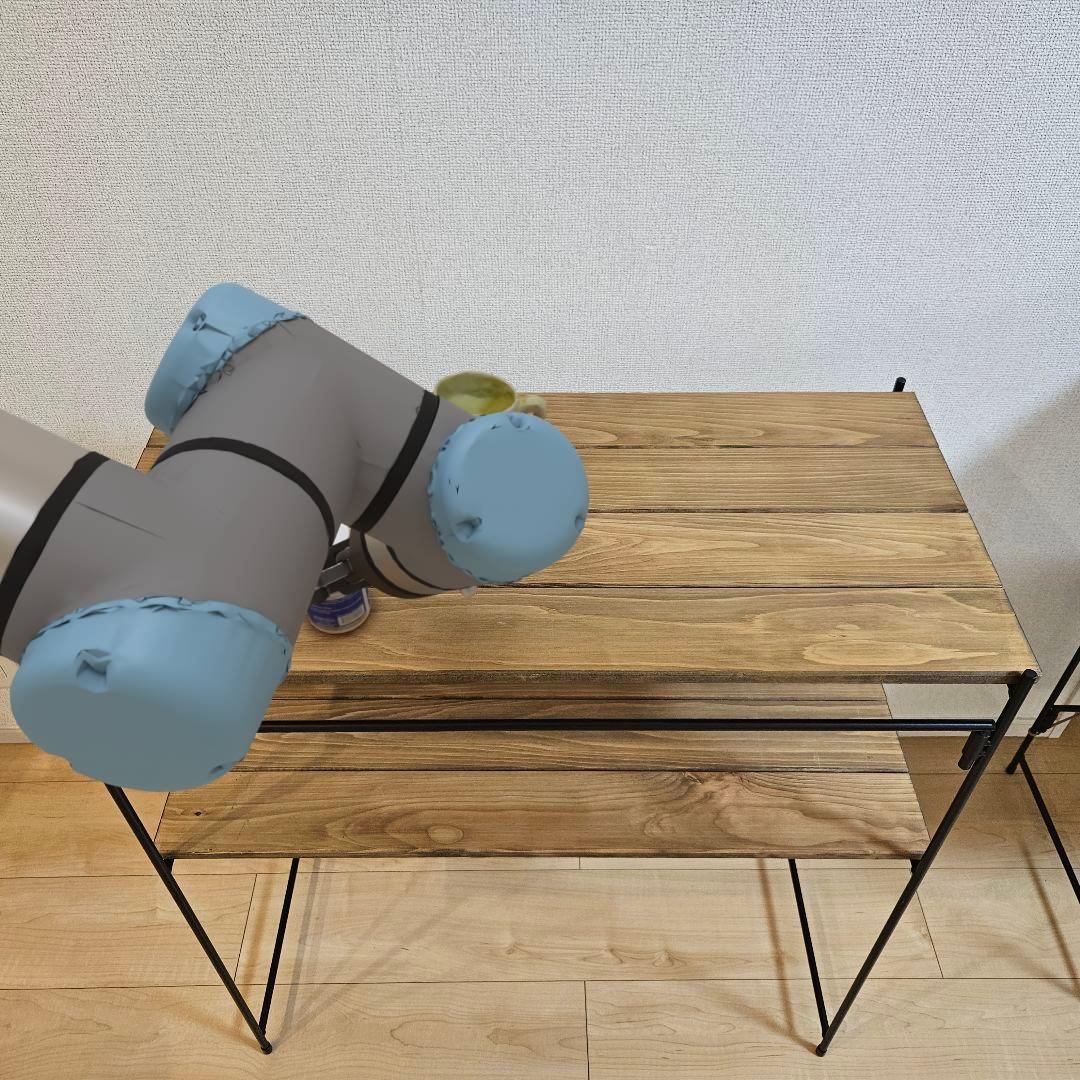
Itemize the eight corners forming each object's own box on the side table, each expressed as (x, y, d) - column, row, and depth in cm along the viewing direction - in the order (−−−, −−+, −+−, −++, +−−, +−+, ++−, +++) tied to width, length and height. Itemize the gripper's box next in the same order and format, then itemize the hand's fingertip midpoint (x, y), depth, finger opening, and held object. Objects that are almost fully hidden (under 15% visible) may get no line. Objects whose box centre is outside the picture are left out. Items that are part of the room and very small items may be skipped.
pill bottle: (318, 587, 84) (299, 508, 77) (378, 592, 84) (363, 513, 77) (300, 633, 80) (278, 554, 73) (362, 639, 79) (346, 559, 73)
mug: (410, 470, 94) (428, 380, 89) (432, 439, 103) (449, 356, 99) (522, 500, 94) (545, 413, 89) (533, 467, 103) (555, 386, 99)
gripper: (252, 687, 48) (219, 678, 67) (614, 510, 58) (496, 546, 77) (191, 560, 47) (176, 587, 66) (568, 405, 58) (460, 467, 77)
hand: (348, 565), depth 72 cm, fingers open, 13 cm apart
